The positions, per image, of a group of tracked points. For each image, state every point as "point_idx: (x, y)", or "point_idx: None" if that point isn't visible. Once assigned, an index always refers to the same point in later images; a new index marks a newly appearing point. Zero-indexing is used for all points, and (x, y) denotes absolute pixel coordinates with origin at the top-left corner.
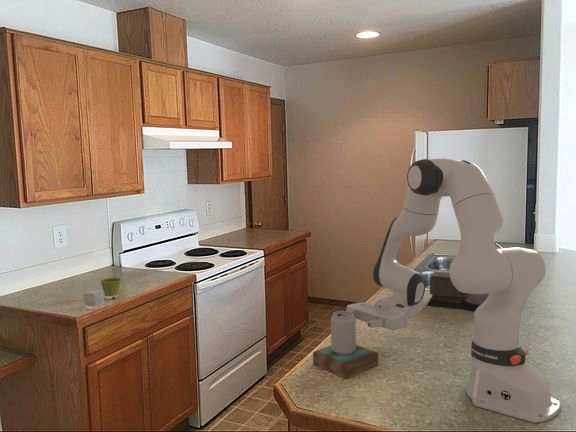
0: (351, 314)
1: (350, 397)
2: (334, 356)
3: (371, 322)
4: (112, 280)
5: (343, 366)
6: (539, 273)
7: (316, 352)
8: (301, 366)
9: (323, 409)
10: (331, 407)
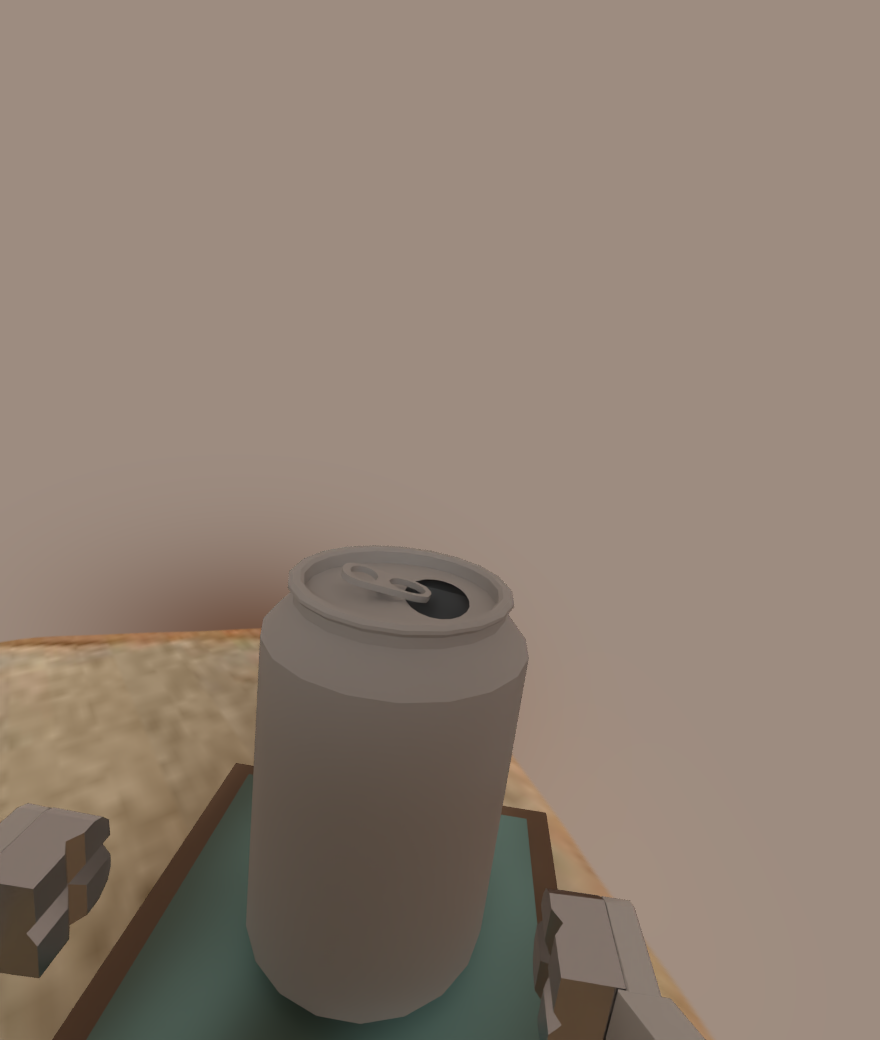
0: (336, 621)
1: (148, 721)
2: None
3: (31, 805)
4: None
5: None
6: None
7: (524, 817)
8: (553, 831)
9: (225, 648)
10: (203, 661)
